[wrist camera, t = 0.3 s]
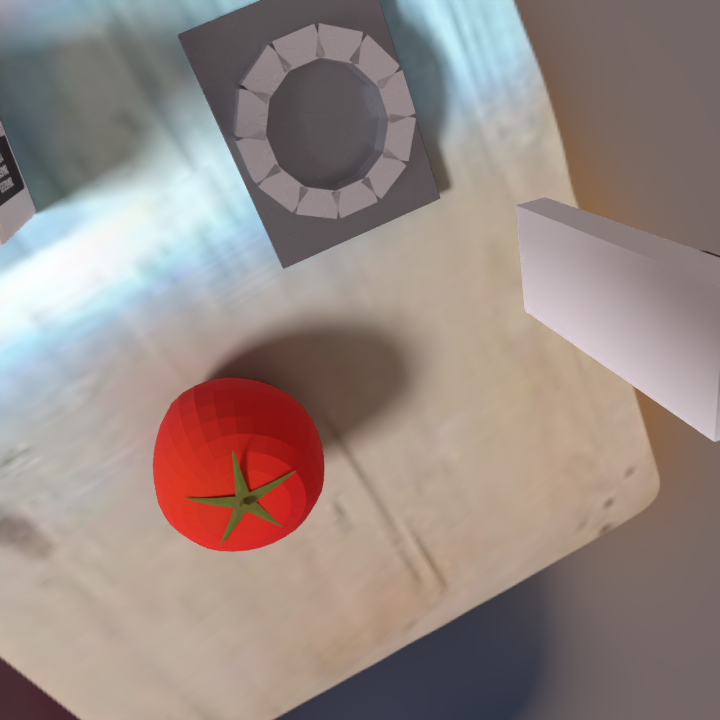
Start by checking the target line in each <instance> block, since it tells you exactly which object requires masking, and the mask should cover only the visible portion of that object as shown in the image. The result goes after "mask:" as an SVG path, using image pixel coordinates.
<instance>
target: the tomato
mask: <svg viewBox="0 0 720 720" xmlns="http://www.w3.org/2000/svg"><path fill="white" fill-rule="evenodd" d="M153 476H154V484H155V490H156V495H157V499H158V503H159V506H160V508H161V510H162V512H163V514H164V516H165V517H166V519H167V520H168V522H169V523H170V524H171V525H172V526H173V527H174V528H175V529H176V530H177V531H178V532H179V533H181V534H182V535H184V536H185V537H187V538H188V539H190V540H191V541H193V542H195V543H197V544H199V545H201V546H203V547H206V548H208V549H213V550H218V551H247V550H251V549H256V548H261V547H263V546H266V545H269V544H272V543H274V542H276V541H278V540H280V539H282V538H284V537H286V536H287V535H288V534H290V533H291V532H293V531H294V530H296V529H297V528H298V527H299V526H300V525H301V524H302V523H303V521H304V520H305V519H306V518H307V516H308V515H309V513H310V512H311V510H312V508H313V507H314V505H315V503H316V502H317V500H318V498H319V496H320V493H321V491H322V487H323V481H324V455H323V450H322V445H321V441H320V438H319V434H318V432H317V429H316V427H315V425H314V423H313V421H312V419H311V418H310V416H309V415H308V413H307V412H306V410H305V409H304V408H303V407H302V406H301V405H300V403H298V402H297V401H296V400H295V399H294V398H292V397H291V396H290V395H289V394H287V393H285V392H283V391H282V390H280V389H278V388H276V387H274V386H272V385H269V384H266V383H263V382H260V381H256V380H250V379H244V378H220V379H213V380H210V381H207V382H204V383H202V384H199V385H196V386H194V387H192V388H191V389H189V390H187V391H185V392H184V393H182V394H181V395H180V396H179V397H178V398H177V399H176V400H175V401H174V402H173V403H172V404H171V406H170V408H169V409H168V411H167V413H166V415H165V417H164V419H163V421H162V423H161V425H160V428H159V432H158V435H157V438H156V443H155V449H154V458H153Z"/></svg>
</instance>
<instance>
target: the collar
mask: <svg viewBox="0 0 720 720" xmlns="http://www.w3.org/2000/svg"><path fill="white" fill-rule="evenodd" d="M178 38H179V40H180V42H181V44H182V47H183V49H184V51H185V53H186V56H187V58H188V60H189V62H190V64H191V67H192V69H193V71H194V73H195V75H196V78H197V80H198V82H199V84H200V86H201V89H202V91H203V93H204V95H205V97H206V100H207V102H208V104H209V106H210V108H211V111H212V113H213V115H214V117H215V119H216V122H217V124H218V126H219V128H220V131H221V133H222V135H223V137H224V139H225V142H226V144H227V146H228V148H229V150H230V153H231V155H232V157H233V159H234V161H235V164H236V166H237V168H238V170H239V172H240V175H241V177H242V179H243V181H244V183H245V186H246V188H247V190H248V192H249V194H250V197H251V199H252V201H253V203H254V206H255V208H256V210H257V212H258V214H259V217H260V219H261V221H262V223H263V225H264V228H265V230H266V232H267V234H268V236H269V239H270V241H271V243H272V245H273V247H274V250H275V252H276V254H277V256H278V258H279V261H280V263H281V265H282V267H283V269H284V268H286V267H289V266H291V265H293V264H295V263H298V262H300V261H302V260H304V259H307V258H309V257H311V256H313V255H315V254H318V253H320V252H322V251H324V250H327V249H329V248H331V247H333V246H335V245H338V244H340V243H342V242H344V241H347V240H349V239H351V238H353V237H356V236H358V235H360V234H362V233H364V232H367V231H369V230H371V229H373V228H376V227H378V226H380V225H382V224H385V223H387V222H389V221H391V220H393V219H396V218H398V217H400V216H402V215H405V214H407V213H409V212H411V211H413V210H416V209H418V208H420V207H422V206H425V205H427V204H429V203H431V202H434V201H436V200H438V199H440V196H439V192H438V189H437V186H436V183H435V179H434V176H433V173H432V170H431V166H430V163H429V160H428V157H427V153H426V150H425V147H424V144H423V140H422V137H421V134H420V131H419V127H418V124H417V121H416V118H415V113H416V112H415V109H414V106H413V102H412V99H411V96H410V93H409V89H408V86H407V83H406V80H405V76H404V73H403V70H401V69H400V65H399V63H398V59H397V56H396V53H395V50H394V46H393V43H392V40H391V37H390V33H389V30H388V27H387V24H386V20H385V17H384V14H383V11H382V7H381V4H380V1H379V0H260V1H258V2H255V3H253V4H251V5H248V6H246V7H244V8H241V9H239V10H236V11H234V12H232V13H229V14H227V15H224V16H222V17H220V18H217V19H215V20H212V21H210V22H208V23H205V24H203V25H200V26H198V27H196V28H193V29H191V30H188V31H186V32H184V33H181V34H179V35H178Z"/></svg>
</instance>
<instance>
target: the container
mask: <svg viewBox="0 0 720 720" xmlns="http://www.w3.org/2000/svg"><path fill="white" fill-rule="evenodd" d="M35 213H36V209H35V206H34V204H33V201H32V199H31V196H30V194H29V191H28V188H27V186H26V183H25V181H24V178H23V176H22V173H21V171H20V168H19V166H18V163H17V161H16V158H15V156H14V153H13V151H12V148H11V146H10V143H9V141H8V138H7V136H6V133H5V131H4V128H3V126H2V123H1V121H0V246H1V245H3V244H5V243H6V242H7V241H8V240H9V239H10V238H11V237H12V236H13V235H14V234H15V233H16V232H17V231H18V230H19V229H20V228H21V227H22V226H24V225H25V224H26V223H27V222H28V221H29V220H30V219H31V218H32V217H33V216H34V215H35Z"/></svg>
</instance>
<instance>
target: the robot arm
mask: <svg viewBox="0 0 720 720" xmlns="http://www.w3.org/2000/svg"><path fill="white" fill-rule="evenodd" d="M516 211H517V223H518V235H519V247H520V259H521V271H522V283H523V296H524V308H525V311H526V312H528V313H529V314H530V315H532V316H533V317H535V318H536V319H538V320H539V321H541V322H542V323H543V324H545V325H546V326H548V327H549V328H551V329H552V330H554V331H555V332H556V333H558V334H559V335H561V336H562V337H564V338H565V339H567V340H568V341H569V342H571V343H572V344H574V345H575V346H577V347H578V348H580V349H581V350H582V351H584V352H585V353H587V354H588V355H590V356H591V357H593V358H594V359H595V360H597V361H598V362H600V363H601V364H603V365H604V366H606V367H607V368H608V369H610V370H611V371H613V372H614V373H616V374H617V375H619V376H620V377H621V378H623V379H624V380H626V381H627V382H629V383H630V384H631V385H633V386H634V387H636V388H637V389H639V390H640V391H642V392H643V393H644V394H646V395H647V396H649V397H650V398H652V399H653V400H655V401H656V402H658V403H659V404H661V405H662V406H663V407H665V408H666V409H668V410H669V411H671V412H672V413H674V414H675V415H676V416H678V417H679V418H681V419H682V420H684V421H685V422H686V423H688V424H689V425H691V426H692V427H694V428H695V429H697V430H698V431H699V432H701V433H702V434H704V435H705V436H707V437H708V438H709V439H711V440H712V441H714V442H716V441H719V440H720V256H719V255H716V254H713V253H710V252H707V251H701V250H696V249H693V248H690V247H687V246H685V245H681V244H678V243H675V242H673V241H670V240H667V239H664V238H661V237H658V236H655V235H653V234H650V233H647V232H644V231H641V230H638V229H635V228H632V227H629V226H626V225H624V224H621V223H618V222H615V221H612V220H609V219H606V218H603V217H600V216H597V215H594V214H592V213H588V212H586V211H583V210H580V209H577V208H574V207H571V206H568V205H566V204H563V203H560V202H557V201H554V200H551V199H548V198H542V199H538V200H534V201H530V202H527V203H523V204H519V205H516Z"/></svg>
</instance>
